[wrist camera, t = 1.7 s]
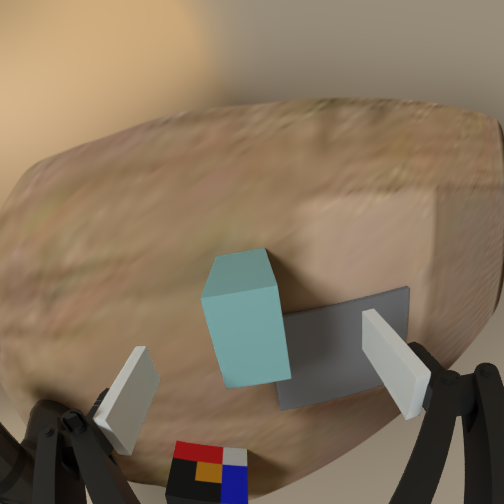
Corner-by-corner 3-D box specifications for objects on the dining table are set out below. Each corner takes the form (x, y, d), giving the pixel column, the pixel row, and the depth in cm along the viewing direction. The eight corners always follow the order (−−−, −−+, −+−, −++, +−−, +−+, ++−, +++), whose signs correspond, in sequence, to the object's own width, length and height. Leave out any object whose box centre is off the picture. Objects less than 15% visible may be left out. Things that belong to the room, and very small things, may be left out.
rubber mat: (280, 407, 30) (280, 410, 30) (263, 318, 27) (264, 321, 27) (399, 375, 30) (401, 378, 29) (406, 285, 27) (409, 287, 26)
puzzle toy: (246, 448, 32) (248, 504, 23) (239, 478, 35) (239, 525, 25) (176, 440, 32) (165, 495, 22) (179, 471, 34) (171, 518, 24)
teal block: (231, 323, 27) (226, 388, 18) (216, 256, 26) (200, 298, 16) (276, 315, 27) (291, 378, 18) (264, 247, 26) (277, 285, 16)
